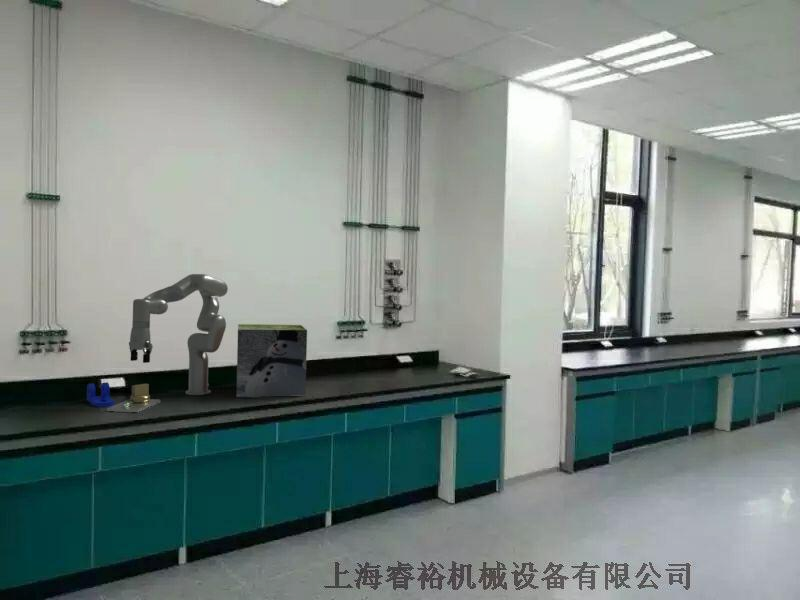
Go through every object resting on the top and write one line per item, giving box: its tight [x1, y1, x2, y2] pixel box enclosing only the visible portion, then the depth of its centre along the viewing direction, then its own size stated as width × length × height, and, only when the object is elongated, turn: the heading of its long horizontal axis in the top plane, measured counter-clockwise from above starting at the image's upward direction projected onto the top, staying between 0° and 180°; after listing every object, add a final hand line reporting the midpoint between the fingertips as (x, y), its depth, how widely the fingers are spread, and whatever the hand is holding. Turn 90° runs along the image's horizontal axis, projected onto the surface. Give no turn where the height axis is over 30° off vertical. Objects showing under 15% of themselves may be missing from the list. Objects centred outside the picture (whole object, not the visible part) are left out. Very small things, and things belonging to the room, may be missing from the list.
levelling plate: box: [106, 398, 161, 413], centre depth 274 cm, size 22×14×3 cm, turn 177°
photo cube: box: [236, 323, 308, 398], centre depth 323 cm, size 35×35×35 cm
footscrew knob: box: [126, 383, 151, 403], centre depth 279 cm, size 10×8×8 cm
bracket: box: [86, 382, 115, 408], centre depth 279 cm, size 18×8×9 cm, turn 41°
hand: (140, 361), depth 279 cm, fingers open, 9 cm apart
